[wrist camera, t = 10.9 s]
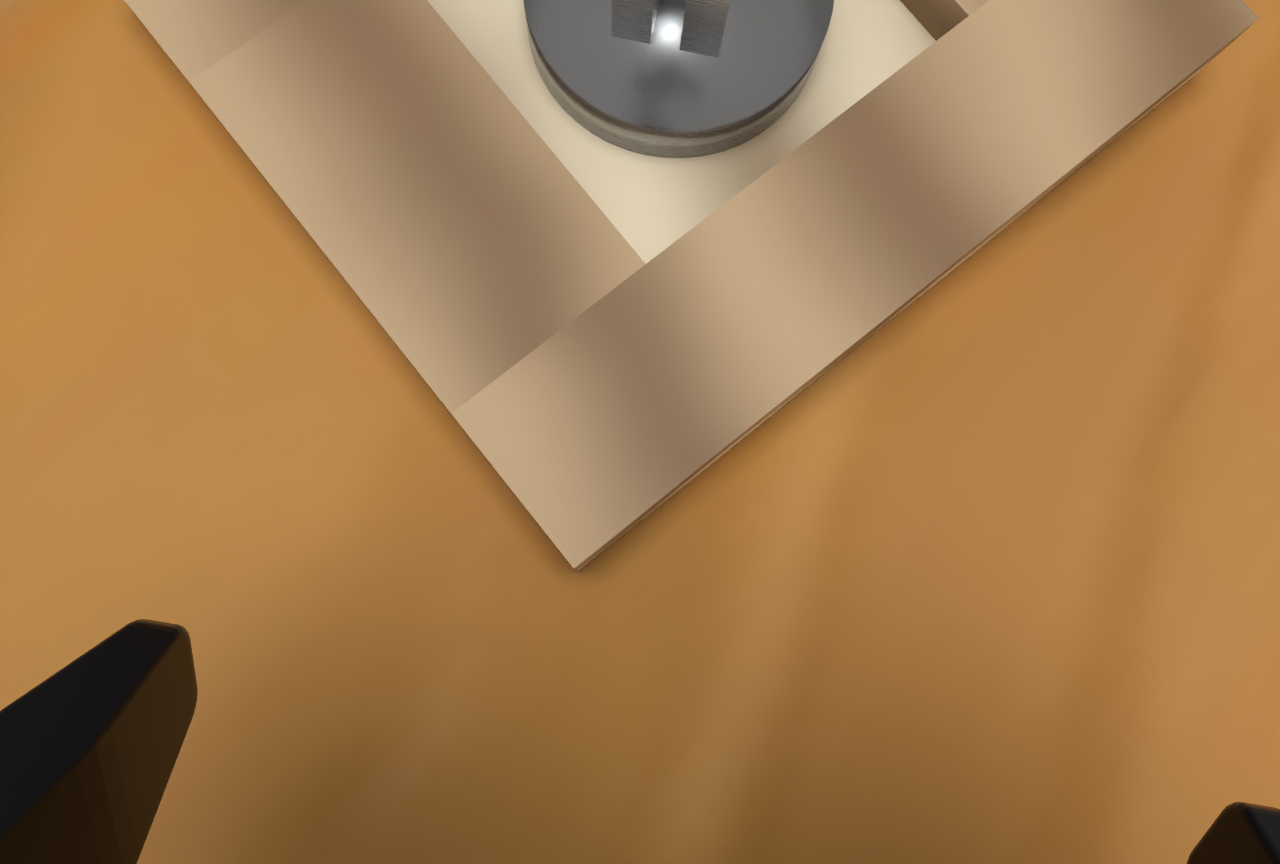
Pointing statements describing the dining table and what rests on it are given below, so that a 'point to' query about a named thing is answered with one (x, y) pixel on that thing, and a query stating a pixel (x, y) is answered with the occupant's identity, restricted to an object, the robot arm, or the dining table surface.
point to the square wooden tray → (660, 207)
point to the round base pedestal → (676, 67)
